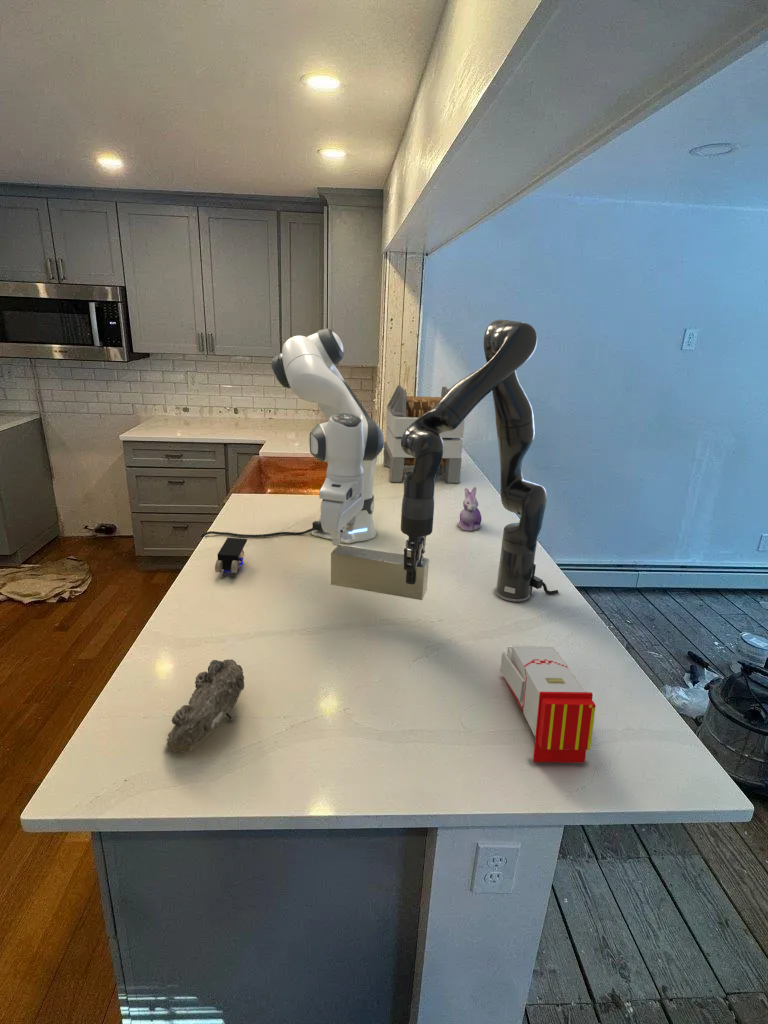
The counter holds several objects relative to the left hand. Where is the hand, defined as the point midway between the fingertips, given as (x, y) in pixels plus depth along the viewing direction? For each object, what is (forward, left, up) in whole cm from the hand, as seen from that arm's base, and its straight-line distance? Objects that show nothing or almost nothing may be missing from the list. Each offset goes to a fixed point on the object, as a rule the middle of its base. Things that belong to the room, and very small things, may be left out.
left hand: (343, 537), depth 140 cm
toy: (+50, -23, -21) cm, 59 cm away
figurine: (+23, +75, -21) cm, 81 cm away
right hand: (+18, 0, -8) cm, 20 cm away
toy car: (-39, +13, -21) cm, 46 cm away
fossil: (-10, -45, -21) cm, 51 cm away
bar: (+9, 0, -12) cm, 15 cm away
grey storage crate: (-10, +138, -21) cm, 140 cm away
